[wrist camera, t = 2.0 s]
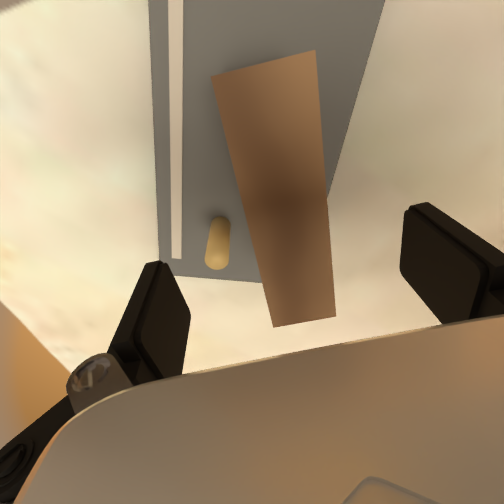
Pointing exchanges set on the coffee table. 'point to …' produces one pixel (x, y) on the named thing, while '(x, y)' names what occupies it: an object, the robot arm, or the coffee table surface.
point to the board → (209, 120)
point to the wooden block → (282, 181)
